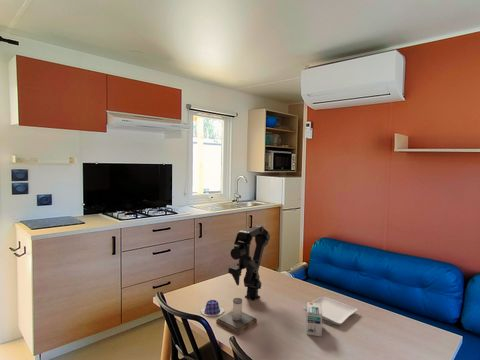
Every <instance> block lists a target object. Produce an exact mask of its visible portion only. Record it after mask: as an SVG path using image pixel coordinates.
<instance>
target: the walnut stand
mask: <svg viewBox="0 0 480 360" xmlns="http://www.w3.org/2000/svg"><path fill="white" fill-rule="evenodd" d="M232 313H233V310H231V311H229V312H227V313H225V314H224V315H221V316H219V317H218V318H216V319H215V324H217V325H218V326H220V327H222V328H224V329H227V330H228V331H230V332H232V333H233V334H236V335H238V336H239V335H240V334H241V333H244V331H247V330H248V329H249V328H251V327H253V326H254V325H256V324H257V323H258V318H256V317H254V316H253V315H250V314H248V313H247V312H244V311H242V319H241V320H233V319H232Z"/></svg>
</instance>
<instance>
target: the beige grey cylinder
mask: <svg viewBox="0 0 480 360" xmlns="http://www.w3.org/2000/svg"><path fill="white" fill-rule="evenodd" d="M232 311H233V313H232V319H233V320H241V319H242V312H243V299H242V298H240V297H234V298H233V299H232Z"/></svg>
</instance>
